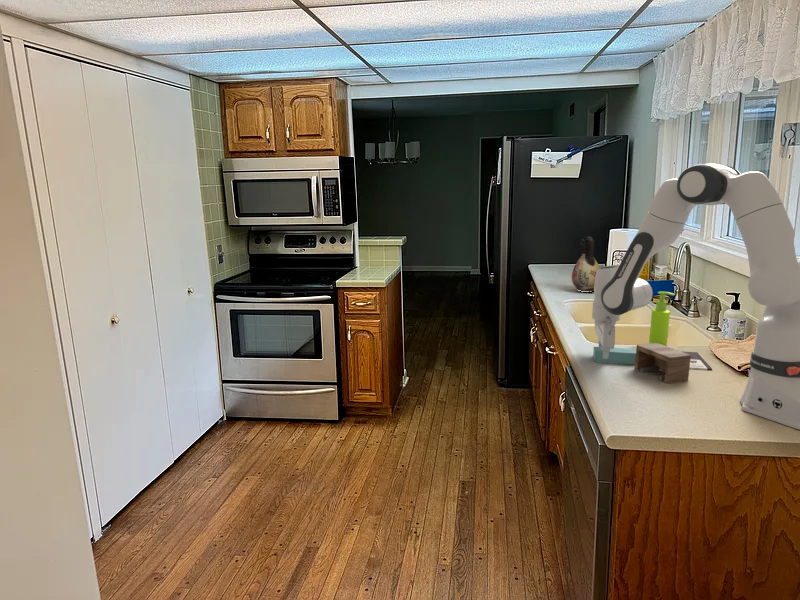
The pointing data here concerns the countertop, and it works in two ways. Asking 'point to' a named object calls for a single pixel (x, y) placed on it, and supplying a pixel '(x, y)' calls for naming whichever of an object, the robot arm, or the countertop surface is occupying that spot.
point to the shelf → (663, 361)
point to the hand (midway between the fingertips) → (603, 353)
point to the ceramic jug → (585, 267)
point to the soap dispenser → (660, 321)
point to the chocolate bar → (697, 362)
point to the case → (616, 355)
